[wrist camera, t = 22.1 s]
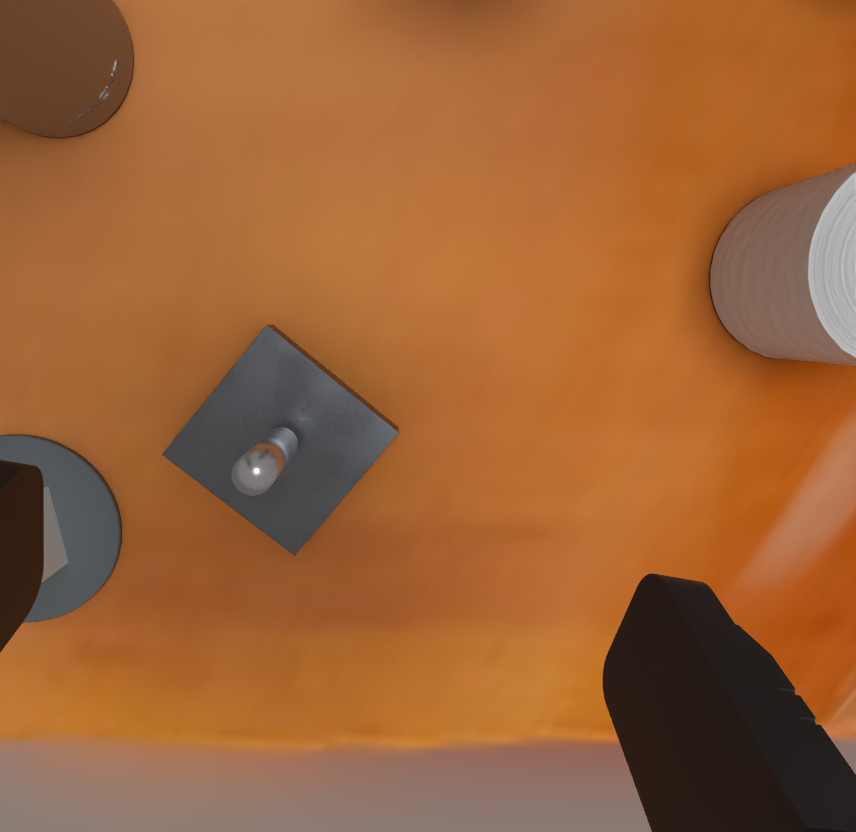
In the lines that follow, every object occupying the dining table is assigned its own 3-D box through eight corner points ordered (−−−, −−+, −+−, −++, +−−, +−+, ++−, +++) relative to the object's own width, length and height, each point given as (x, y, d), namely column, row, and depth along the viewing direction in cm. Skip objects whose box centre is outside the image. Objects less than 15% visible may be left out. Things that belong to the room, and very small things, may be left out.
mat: (-114, 541, 41) (-122, 544, 40) (-1, 395, 40) (-7, 396, 39) (47, 653, 42) (42, 658, 42) (160, 515, 41) (157, 517, 41)
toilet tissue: (679, 242, 41) (770, 219, 31) (848, 142, 40) (996, 85, 30) (752, 389, 42) (862, 411, 32) (916, 293, 42) (1077, 286, 32)
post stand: (173, 447, 41) (102, 489, 31) (273, 324, 40) (233, 326, 30) (299, 544, 42) (270, 613, 32) (398, 427, 41) (399, 461, 32)
